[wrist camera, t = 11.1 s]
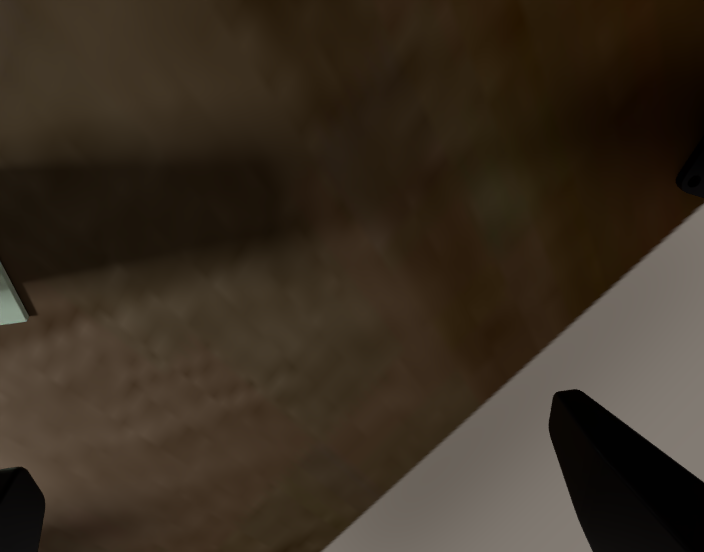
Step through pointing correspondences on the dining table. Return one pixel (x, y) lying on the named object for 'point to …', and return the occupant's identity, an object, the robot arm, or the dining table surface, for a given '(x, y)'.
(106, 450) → the dining table surface
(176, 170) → the dining table surface
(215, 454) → the dining table surface
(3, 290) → the pad
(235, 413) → the dining table surface
